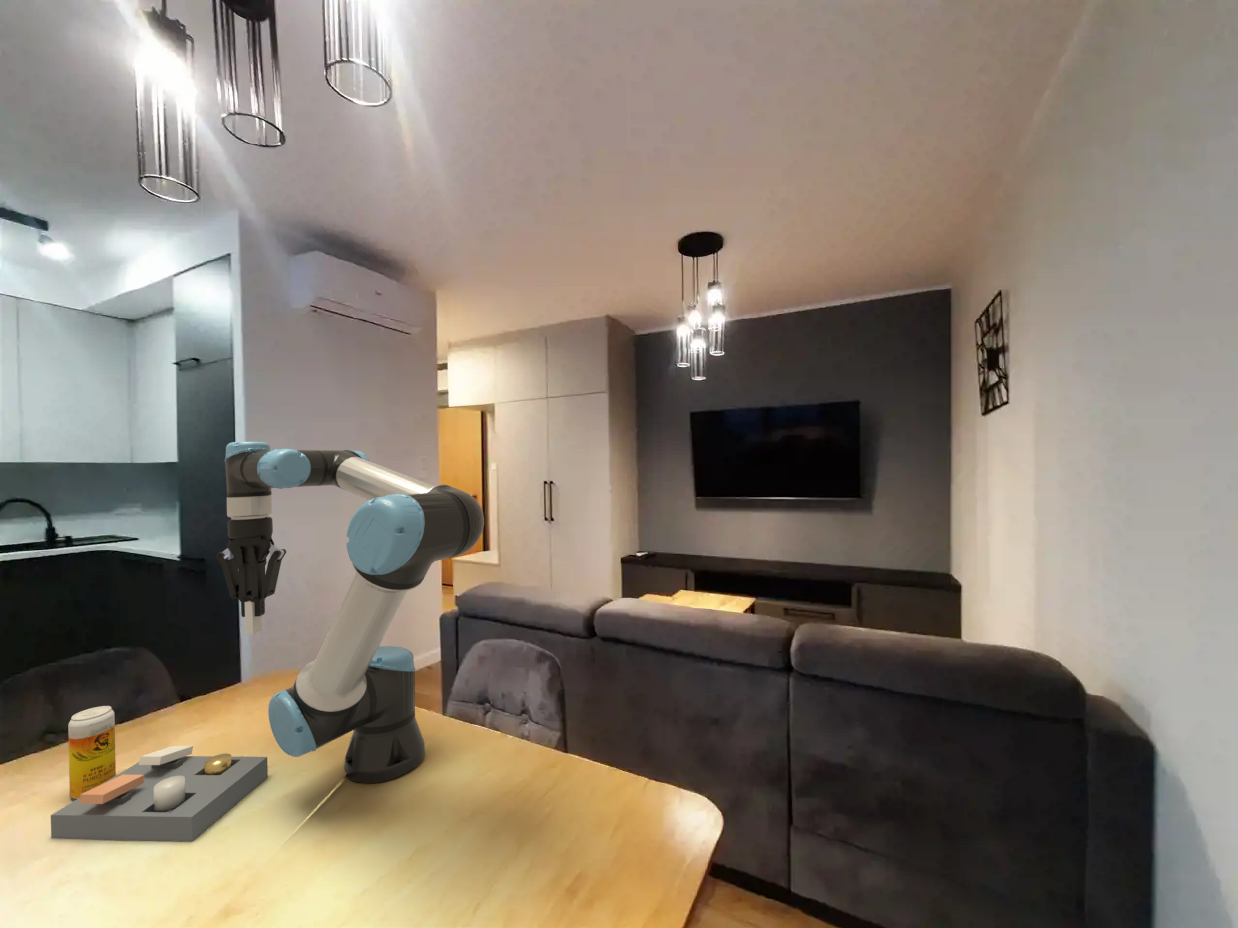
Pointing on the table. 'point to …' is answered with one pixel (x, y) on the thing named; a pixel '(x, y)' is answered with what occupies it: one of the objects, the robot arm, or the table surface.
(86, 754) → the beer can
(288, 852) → the table surface
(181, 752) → the white rocker
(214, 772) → the gold rounded piece
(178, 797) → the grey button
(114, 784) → the terracotta rocker
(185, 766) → the grey slotted tray
